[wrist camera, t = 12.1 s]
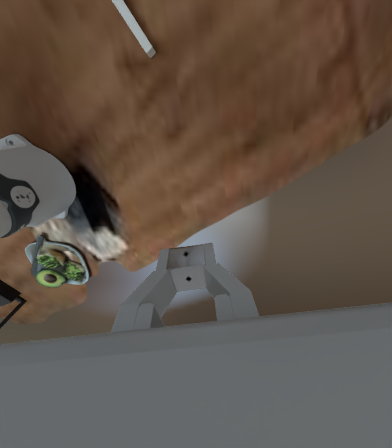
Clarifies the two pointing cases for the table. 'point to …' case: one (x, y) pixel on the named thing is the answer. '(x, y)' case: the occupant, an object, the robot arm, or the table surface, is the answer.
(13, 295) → the wifi router
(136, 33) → the white u-shaped frame
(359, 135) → the table surface
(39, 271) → the salad plate
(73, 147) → the table surface
